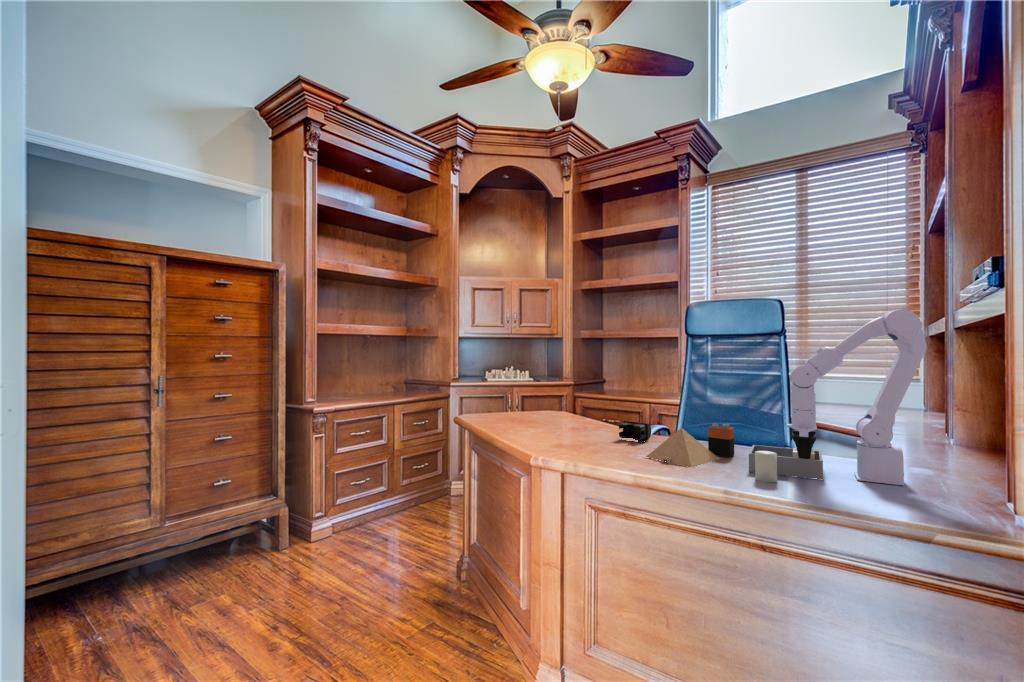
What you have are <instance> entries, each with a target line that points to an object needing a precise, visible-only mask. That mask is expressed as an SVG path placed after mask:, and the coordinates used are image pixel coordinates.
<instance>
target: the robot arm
mask: <svg viewBox="0 0 1024 682" xmlns="http://www.w3.org/2000/svg"><path fill="white" fill-rule="evenodd" d="M923 330H924V329H923V321H921V319H920V318H919V317H918V316H917V314H915V312H914V311H912V310H910V309H905V308H899V309H895V310H890V311H887V312H885V313H882V315H880V316H879V317H876V318H874V319H872V320H870V321H868V322H867V323H865V324H864V325H862V326H861V327H859V328H858V329H857V330H856V331H854V332H853V333H851V334H850V335H848V336H847V337H846V338H844V339H843V340H842V341H841V342H839V343H838V344H836V345H835V346H834V347H833V346H824V347H823V348H821V347H819V348H818V349H815V350H816V351H815V352H816V353H815V354H813V355H812V356H810V357H809V358H808V359H806V360H804V359H802V361H800V363H801V364H802V365H796V366H795V367H793V368H792V370H791V372H789V373H790V374H789V379H790V381H791V388H790V390H791V392H790V408H791V412H790V413H791V423H786V428H791V429H792V430H791V432H792V433H793V434H791V439H792V440H793V442H794V444H795V447H796V448H795V449H797V452H798V457H799V458H802V459H810V456H811V450H813V446H814V444H815V442H816V441H817V437H816V436H815V435H816V433H817V431H816V430H818V426H817V417H816V416H817V412H816V411H817V409H816V393H815V384H816V383H817V381H818V380H817V379H818V378H822V377H824V376H825V375H827V374H828V373H830V372H831V371H833V370H834V369H836V368H838V367H839V366H841V365H842V364H843V359H844V356H846V355H848V354H849V353H850V352H852V351H854V350H856V349H857V348H858V347H860V346H861V345H863V344H865V343H866V342H868V341H869V340H871V339H872V338H876V337H877V338H878V337H883V336H888V337H889V338H890V339H891V340H892V341H893V343H894V344H895V346H896V347H897V348H898V352H897V353H896V356H895V357H894V359H893V362H892V364H891V367H890V368H889V370H888V373H887V374H886V377H885V378H884V381H883V383H882V385H881V387H880V389H879V391H878V393H877V395H876V397H875V399H874V402H873V404H872V405H871V406H870V408H869V409H868V410H867V411H866V413H865V415H864V416H863V417H861V418H860V419H859V420H858V421H857V422H856V424H855V425H856V426H855V430H856V432H857V434H858V435H859V436H860V437H859V439H858V440H857V441H856V462H857V463H856V465H857V467H856V469H857V471H854V472H853V473H854V475H855V478H856V480H857V481H861V482H871V483H879V484H886V485H887V484H888V485H897V486H905V469H904V467H905V466H904V452H903V451H904V450H903V447H900V446H893V443H891V442H892V440H893V438H894V432H893V428H894V425H895V423H896V413H897V411H898V409H899V408H900V405H901V403H902V401H903V399H904V397H905V395H906V392H907V391H908V388H909V387H910V384H911V383H912V381H913V379H914V377H915V374H916V373H917V371H918V369H919V366H920V365H921V363H922V360H923V358H924V356H925V354H926V352H927V348H928V346H927V343H926V338H925V334H924V331H923Z"/></svg>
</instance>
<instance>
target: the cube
mask: <svg viewBox="0 0 1024 682" xmlns="http://www.w3.org/2000/svg"><path fill="white" fill-rule="evenodd" d="M793 458H799V457H798V452H797V448H793ZM810 459H813V460H815V454H814V449H812V450H811V456H810Z"/></svg>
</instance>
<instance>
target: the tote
mask: <svg viewBox="0 0 1024 682" xmlns="http://www.w3.org/2000/svg"><path fill="white" fill-rule="evenodd" d="M793 449H794V448H791V447H779V446H771V445H757V444H752V445H751V448H750V450H749V451H748V472H749V473H755V452H756V451H770V452H774V453H777V476H781V475H788V476H787V477H790V476H797V477H796V478H798V477H806V478H805V479H807V478H817V479H823V480H824V459H823V454H822V451H821V450H814V449H813V450H814V454H815V460H813V459H802V458H793Z"/></svg>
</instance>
